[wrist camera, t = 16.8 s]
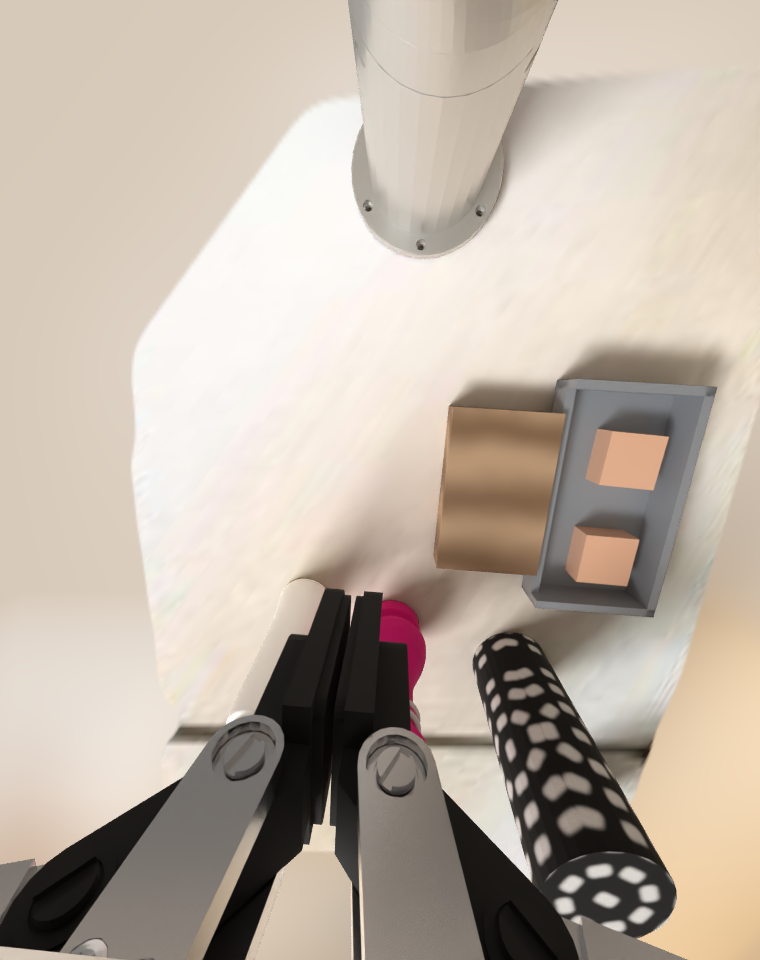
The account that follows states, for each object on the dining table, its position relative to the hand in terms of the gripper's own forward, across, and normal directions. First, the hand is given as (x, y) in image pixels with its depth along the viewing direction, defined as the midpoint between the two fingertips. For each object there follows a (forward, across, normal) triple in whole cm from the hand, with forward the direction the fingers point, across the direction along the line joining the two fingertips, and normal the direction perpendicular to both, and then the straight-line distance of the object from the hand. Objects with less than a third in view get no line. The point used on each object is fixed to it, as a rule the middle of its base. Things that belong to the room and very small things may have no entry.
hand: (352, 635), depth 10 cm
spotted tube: (+27, -16, +23) cm, 39 cm away
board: (+27, -11, +2) cm, 29 cm away
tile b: (+24, -22, +8) cm, 34 cm away
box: (+27, -22, +2) cm, 35 cm away
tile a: (+24, -23, -2) cm, 33 cm away
